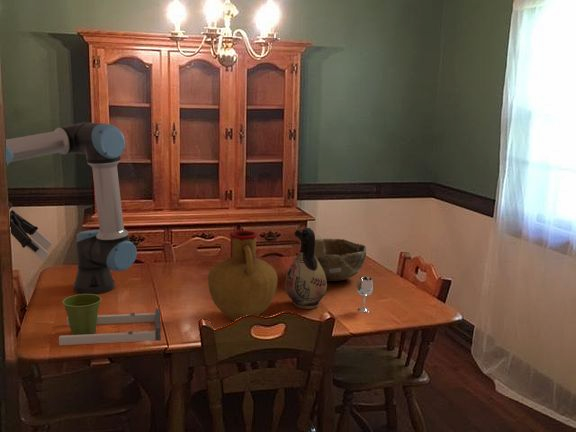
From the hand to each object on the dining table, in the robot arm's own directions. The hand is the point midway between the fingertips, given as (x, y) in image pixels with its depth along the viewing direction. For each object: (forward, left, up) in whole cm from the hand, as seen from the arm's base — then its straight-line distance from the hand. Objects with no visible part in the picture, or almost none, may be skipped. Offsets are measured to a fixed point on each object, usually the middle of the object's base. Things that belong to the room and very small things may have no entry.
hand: (47, 252), depth 198 cm
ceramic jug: (+60, +64, -26) cm, 91 cm away
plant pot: (+12, +2, -26) cm, 28 cm away
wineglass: (+80, +71, -26) cm, 110 cm away
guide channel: (+19, +8, -26) cm, 33 cm away
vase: (+47, +41, -26) cm, 68 cm away
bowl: (+55, +99, -26) cm, 116 cm away
